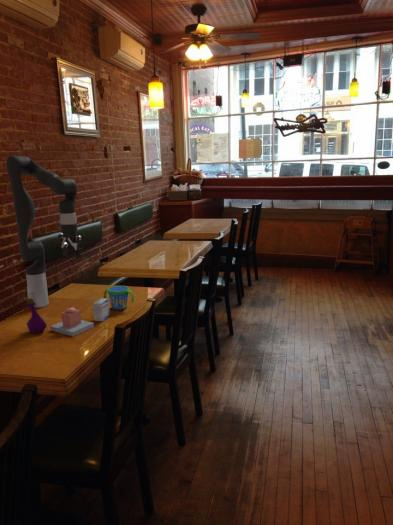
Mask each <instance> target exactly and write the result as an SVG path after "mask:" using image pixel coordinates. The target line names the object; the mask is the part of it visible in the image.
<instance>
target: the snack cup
mask: <svg viewBox="0 0 393 525" xmlns="http://www.w3.org/2000/svg"><path fill="white" fill-rule="evenodd" d="M107 293H108V296H109V298H108V297H107ZM129 295H130V296H131V301H130V302H131V303H132V304H133V303H134V301H135V296H134V293H133V291H132V290H131V289H130V287H129V286H127V285H114V286H110V287H108V288H106V290H105V291H104V292H103V298H106V299H109V302H110V305H111V308H112V310H115V311H116V310H117V311H119V310H120V311H121V310H125V309H127V307H128V301H129V300H128V298H129Z"/></svg>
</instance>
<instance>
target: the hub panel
mask: <svg viewBox="0 0 393 525" xmlns="http://www.w3.org/2000/svg"><path fill="white" fill-rule="evenodd" d="M94 328H95V324H94V322H92V321H87V320H83V319H81V324H79V325H76V326H74V327H71V328H69V327H66V326H63V323H62V321H60V322H58V323H55V324H52V325H51V326H50V330H51V332H56V333H59V334H62V335H66V336H68V337H72V338H73V337H75V336H78V335H79V334H82V333H84V332H87V331H90V330H92V329H94Z"/></svg>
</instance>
